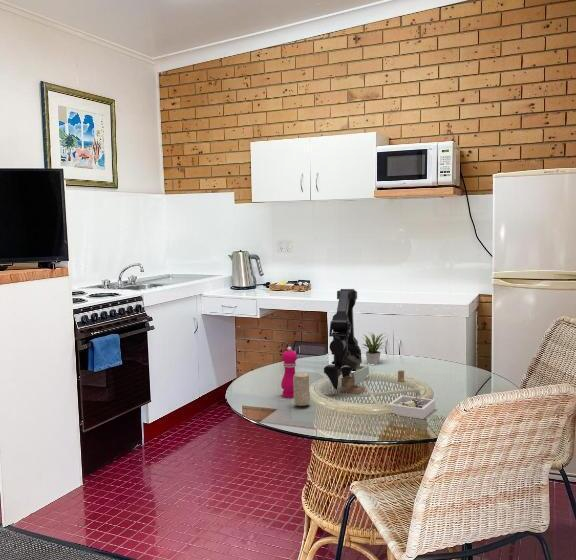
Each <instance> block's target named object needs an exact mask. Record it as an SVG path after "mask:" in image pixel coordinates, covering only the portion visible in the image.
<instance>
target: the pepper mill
mask: <svg viewBox="0 0 576 560" xmlns="http://www.w3.org/2000/svg"><path fill="white" fill-rule="evenodd" d="M281 358H282V361H283V367H284V373H283V377H282V379H281V383H280V387H281V388H282V390H283V391H282V397H284V398H285V399H286V398H288V399H292V398H293V399H294V391H293V390H294V389H293V388H294V386H293V378H294V374H296V367H297V365H296V364H297V362H296V361H297V359H298V355H297V353H296V352H295V351H294V350H292V346H288V347H286V350H285V351H284V352H283V353H282V354H281Z"/></svg>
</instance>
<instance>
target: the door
mask: <svg viewBox="0 0 576 560" xmlns="http://www.w3.org/2000/svg"><path fill="white" fill-rule="evenodd" d="M369 368H370V367H369V366H368V365H367V366H366V367H364V368H362V369H359V370H357V371H355V372H353V373H351V377H355V386H358V385H359V384H360V383H362V382H364V381H365V379H366V377H367V375H368V374H369V375H370V371H369V370H370V369H369ZM366 380H367V379H366Z"/></svg>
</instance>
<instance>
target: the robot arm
mask: <svg viewBox="0 0 576 560" xmlns="http://www.w3.org/2000/svg"><path fill="white" fill-rule="evenodd" d="M336 300H338V301H337V308H336V313H334V315H333V316H332V319H331V320H330V324H329V334H328V335H329V337H331V338H332V341H330V343H329V350H330V353H331V355H333V360H332V361H331V364H328V365H326V366H324V367H323V373H324V374H325V375H326V376H327V378H328V379H329V380H330V383H331V385H332V386H333V389H334V390H338V387H339V378H340V376H342V378H343V377H346V376H351V374H352V373H351V371H356V369H357V368H359V367H360V366H361V364H363V359H362V349H361V348H360V346H359V341H358V339H356V337H355V327H354V326H355V325H354V306H355V305H356V302H357V300H358V291H356V289H354V288H340V290H337V291H336Z"/></svg>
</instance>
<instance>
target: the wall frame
mask: <svg viewBox="0 0 576 560" xmlns="http://www.w3.org/2000/svg"><path fill="white" fill-rule="evenodd" d="M364 367H366V366H364V365H360V367H359V368H357V369H356V371H357V370H359V369H362V368H364ZM403 381H404V382H405V370H401V369H399V370H398V371H397V382H398V383H403Z"/></svg>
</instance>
